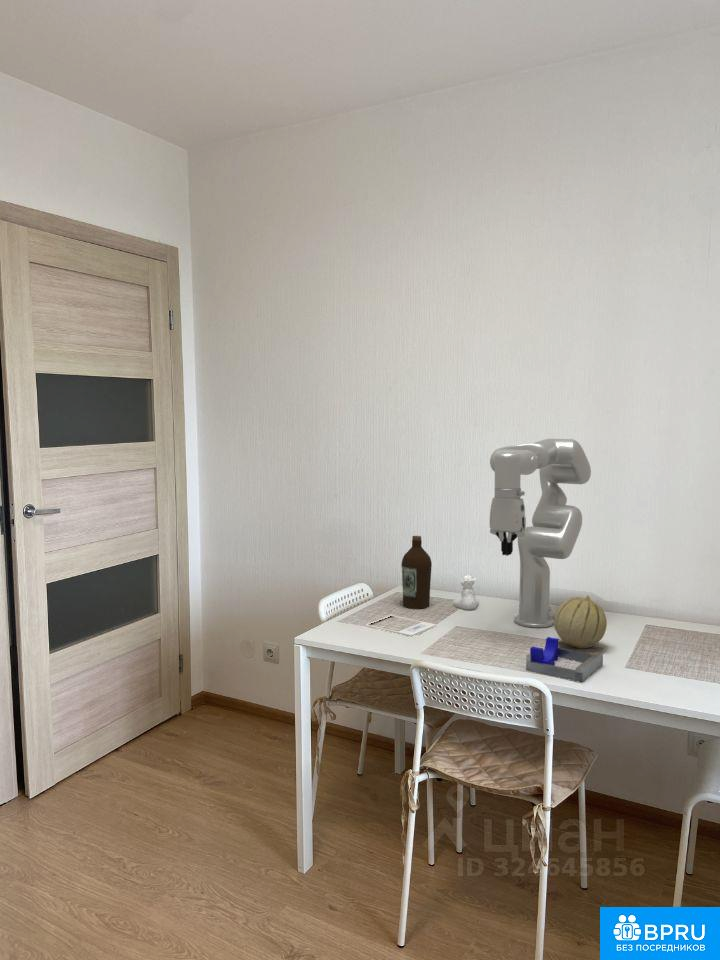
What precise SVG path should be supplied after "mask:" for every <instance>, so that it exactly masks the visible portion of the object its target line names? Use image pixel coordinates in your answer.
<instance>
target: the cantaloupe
mask: <svg viewBox="0 0 720 960" xmlns="http://www.w3.org/2000/svg"><path fill="white" fill-rule="evenodd" d="M553 620H554V624H553V625H554V627H553V628H554V630H555V633H556V634H557V635H558V637H559V639H560V640H561V641H563V642H564V643H566V644H568V645H569V646H571V647H572V648H578V649H585V648H591V647H594V646H595V645H597V644H598V643H599V642H600V641H601V640H602V639H603V638H604V636H605V633H606V630H607V625H608V624H607V623H608V622H607V617H606V613H605V612H604V610H603V609H602V607H601V606H600V605H599V604H598V603H596V602H594V601H592V600H591V599H590V595H586V597H581V596H580V597H579V596H574V597H569V598H568V599H566V600H564V601H563V602H562V603H560V605H559V606H558V607H557V609H556V611H555V613H554V617H553Z"/></svg>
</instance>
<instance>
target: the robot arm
mask: <svg viewBox="0 0 720 960" xmlns="http://www.w3.org/2000/svg"><path fill="white" fill-rule="evenodd" d="M489 465H490V468H491V470H492V471H493V472H494V497H492V499H491V502H490V503H491V504H490V511H489V528H490V530H489V533H490V534H492V535H495V536H496V537H497V538H498V539H499V542H501V546H500V547H501V549H500V551H501V552H502V554H501V555H502V556H506V557H507V556H510V555H512V553H513V551H514V550H513V549H514V548H513V547H514V541H515V540H517V547H518V554H519V594H518V595H519V596H518V598H519V601H518V602H519V603H518V604H519V605H518V608H519V609H518V615H515V616H514V618H513V621H514V623H515V624H517V625H519V626H522V627H527V628H536V629H537V628H539V629H540V628H549V627H552V626H553V625H554V618H552V617H551V616H550V615H549V614H550V612H551V611H552V606H550V592H551V591H550V590H551V589H550V585H551V582H550V580H551V571H550V570H551V569H550V566H549V563H548V562H547V560H546V558H548V559H556V560H565V559H568V558H569V557H570V556H571V555H572V552H573V550H574V548H575V544H576V542H577V540H578V538H579V535H580V533H581V530H582V525H583V514H582V511H581V510H580V509H579V508H578V507H577V506H574V505H570V504H569V505H567V501H568V498H567V496H566V493H565V492H564V490H563V489H562V488H561V486H559V484H566V485H567V484H569V485H585V484H587V482H589V481H590V478H591V475H592V473H591V472H592V470H591V465H590V462H589V460H588V457H587V455H586V452H585V451H584V448H583V447H582V445H581V444H580V442H578V441H577V440H576V439H574V438H573V439H572V438H546V439H542V440H538V441H535V442H530V443H522V444H516V445H509V446H502V447H500V448H497V449H495V450H494V451H493V452H492V453H491V455H490V459H489ZM537 470H538V471H539V472H538V473H539V482H540V487H541V496H540V498H539V501H538V503H537V506H536V507H535V510H534V512H533V515H532V518H531V523H532V526H527V517H526V516H527V515H526V508H525V503H524V502H525V501H524V499H523V498H522V496H525V494H526V493H525V490H522V489H521V476H528V475H531V474H534V473H535V472H536V471H537Z"/></svg>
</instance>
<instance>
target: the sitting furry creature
mask: <svg viewBox="0 0 720 960" xmlns="http://www.w3.org/2000/svg"><path fill="white" fill-rule="evenodd" d="M459 581H460V584H461V586H462V590H461V599H459V598H456V599H454V600H452V605H453V607H456V608H458V609H462V610H464V611H473V610H476V609H477V607H478V606H479V604H480V601H479V600H478V599H477V598H476V593H475V592H476V591H475V589H474V588H473V586H474V585H475V583H476V581H477V578H476V577H473V576H472V575H470V574H465V575H463V576H462V578H459Z"/></svg>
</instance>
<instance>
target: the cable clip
mask: <svg viewBox="0 0 720 960" xmlns="http://www.w3.org/2000/svg"><path fill="white" fill-rule="evenodd" d="M559 639H560V638H556V637H552V636H547V637H546V639H545V645H544V648H541V647H538V646H530V647H529V649H530V650H529V655H532V661H535V662H540V663H544V664H549V665H553V666H556V665H555V664H556V662H557V661H558V660H559V657H558V648H559V641H560V640H559ZM554 661H555V662H554Z"/></svg>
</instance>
